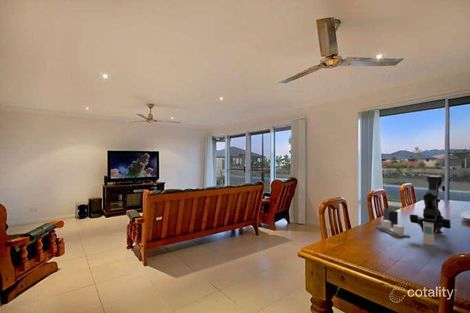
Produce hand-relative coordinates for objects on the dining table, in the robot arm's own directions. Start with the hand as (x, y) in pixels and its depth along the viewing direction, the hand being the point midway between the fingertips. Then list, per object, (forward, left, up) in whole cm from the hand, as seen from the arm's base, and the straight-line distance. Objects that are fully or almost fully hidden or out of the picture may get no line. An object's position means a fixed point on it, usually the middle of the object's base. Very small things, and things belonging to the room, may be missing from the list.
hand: (428, 233), depth 136 cm
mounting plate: (+3, -23, -7) cm, 24 cm away
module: (-1, -1, -7) cm, 7 cm away
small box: (-13, -42, -7) cm, 44 cm away
